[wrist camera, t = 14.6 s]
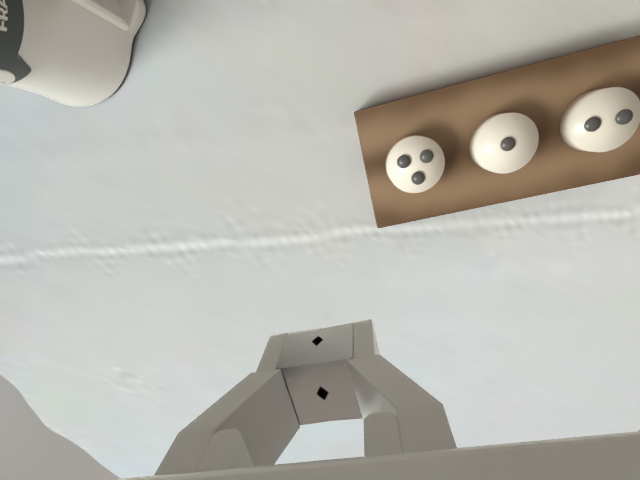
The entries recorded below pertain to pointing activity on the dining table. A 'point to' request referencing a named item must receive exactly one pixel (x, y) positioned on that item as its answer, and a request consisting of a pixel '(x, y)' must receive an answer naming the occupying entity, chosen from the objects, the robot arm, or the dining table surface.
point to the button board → (489, 99)
